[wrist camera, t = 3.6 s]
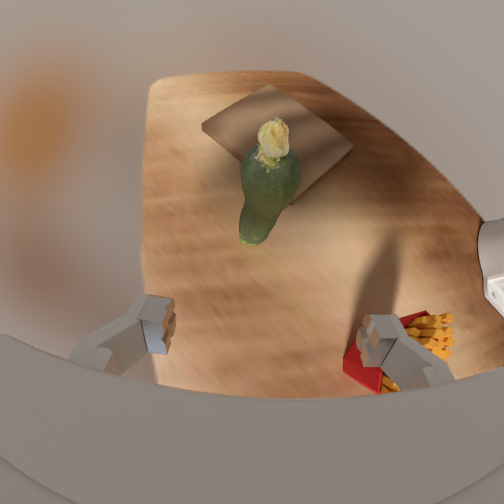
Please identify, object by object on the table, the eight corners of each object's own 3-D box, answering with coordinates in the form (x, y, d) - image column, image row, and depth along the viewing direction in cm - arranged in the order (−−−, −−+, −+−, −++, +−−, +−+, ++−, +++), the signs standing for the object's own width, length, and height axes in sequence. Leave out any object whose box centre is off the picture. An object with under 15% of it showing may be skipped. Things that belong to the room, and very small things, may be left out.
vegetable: (247, 214, 33) (262, 76, 14) (280, 227, 32) (333, 101, 13) (231, 246, 31) (229, 121, 12) (266, 261, 31) (313, 152, 12)
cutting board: (350, 151, 37) (354, 145, 35) (290, 205, 33) (293, 200, 32) (268, 90, 40) (269, 84, 38) (202, 130, 36) (201, 123, 35)
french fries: (372, 313, 30) (442, 297, 18) (394, 332, 29) (467, 325, 17) (328, 376, 28) (386, 399, 15) (353, 394, 27) (417, 421, 15)
